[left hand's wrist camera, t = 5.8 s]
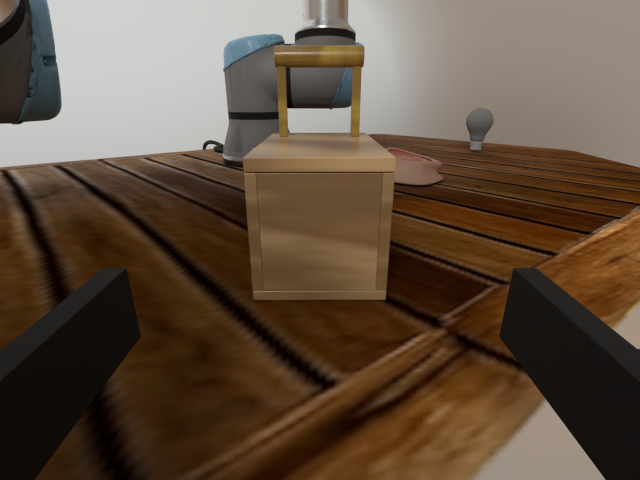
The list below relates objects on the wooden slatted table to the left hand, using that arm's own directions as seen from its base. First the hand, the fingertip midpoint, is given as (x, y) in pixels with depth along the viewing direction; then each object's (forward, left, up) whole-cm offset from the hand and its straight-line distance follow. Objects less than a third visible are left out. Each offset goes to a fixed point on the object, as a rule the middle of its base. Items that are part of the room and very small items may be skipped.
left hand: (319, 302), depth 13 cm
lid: (-14, +12, +2) cm, 19 cm away
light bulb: (-34, +84, -6) cm, 91 cm away
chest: (-13, +12, -6) cm, 19 cm away
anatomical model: (-27, +46, -6) cm, 54 cm away
